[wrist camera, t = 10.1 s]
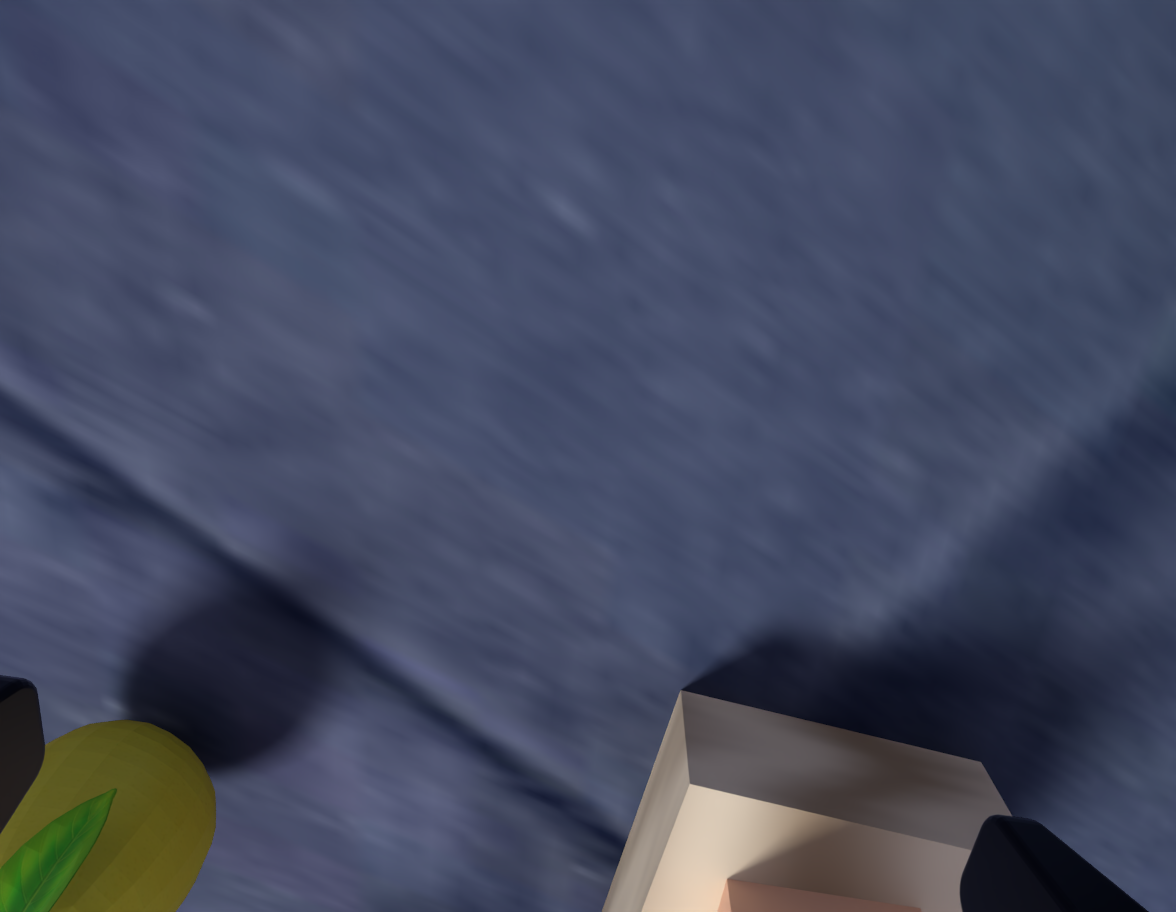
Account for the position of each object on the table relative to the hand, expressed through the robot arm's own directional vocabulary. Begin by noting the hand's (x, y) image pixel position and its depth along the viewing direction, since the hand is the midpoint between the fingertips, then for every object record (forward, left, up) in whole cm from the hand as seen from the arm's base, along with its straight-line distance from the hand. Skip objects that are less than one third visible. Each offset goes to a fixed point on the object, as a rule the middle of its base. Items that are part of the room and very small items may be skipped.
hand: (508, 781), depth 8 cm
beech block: (-8, +13, -13) cm, 20 cm away
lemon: (+11, +13, -13) cm, 22 cm away
